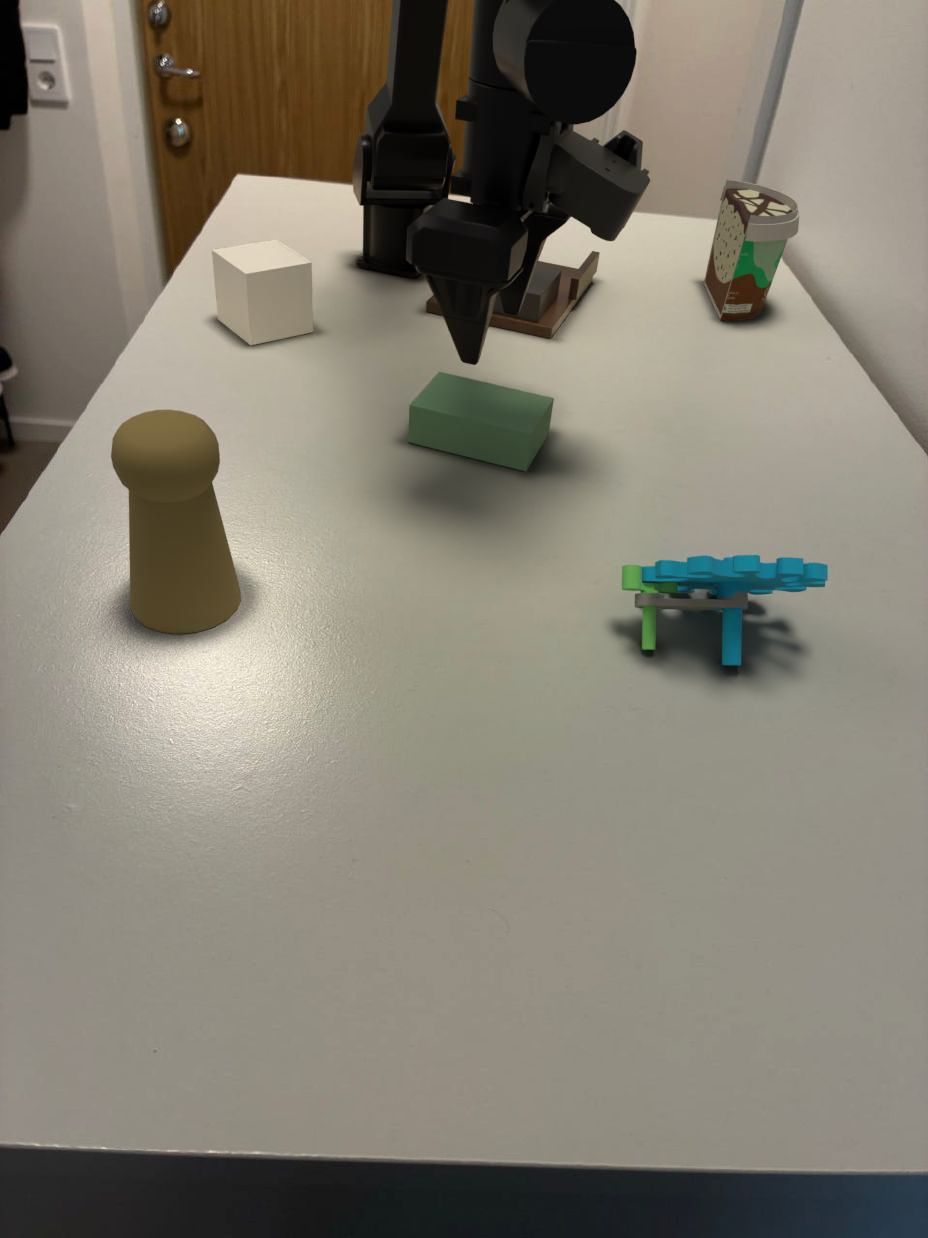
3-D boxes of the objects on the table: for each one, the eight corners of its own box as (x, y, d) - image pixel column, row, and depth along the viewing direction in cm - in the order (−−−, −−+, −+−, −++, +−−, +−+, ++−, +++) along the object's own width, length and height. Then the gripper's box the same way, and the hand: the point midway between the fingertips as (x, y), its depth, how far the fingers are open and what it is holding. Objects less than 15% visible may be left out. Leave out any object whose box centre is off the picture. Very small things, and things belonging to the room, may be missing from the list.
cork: (186, 648, 50) (160, 468, 43) (106, 604, 52) (68, 426, 45) (263, 592, 54) (251, 419, 47) (185, 553, 56) (162, 383, 49)
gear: (805, 573, 57) (851, 543, 47) (805, 672, 56) (852, 662, 46) (618, 570, 58) (626, 540, 48) (616, 666, 58) (623, 656, 48)
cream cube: (313, 332, 82) (312, 262, 78) (250, 345, 79) (245, 273, 75) (279, 307, 85) (276, 238, 82) (217, 319, 82) (211, 249, 79)
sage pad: (436, 407, 73) (439, 371, 71) (548, 434, 71) (554, 397, 69) (407, 442, 69) (409, 404, 67) (526, 471, 67) (531, 433, 65)
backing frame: (478, 258, 99) (481, 223, 97) (594, 281, 97) (600, 246, 94) (422, 310, 87) (424, 272, 85) (554, 339, 85) (559, 301, 82)
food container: (786, 331, 90) (820, 223, 84) (723, 326, 90) (751, 217, 84) (758, 284, 100) (787, 183, 93) (700, 278, 100) (725, 177, 93)
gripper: (618, 137, 47) (571, 422, 57) (679, 75, 60) (632, 313, 70) (408, 101, 49) (398, 381, 59) (513, 50, 63) (490, 284, 73)
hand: (491, 337), depth 65 cm, fingers open, 9 cm apart
